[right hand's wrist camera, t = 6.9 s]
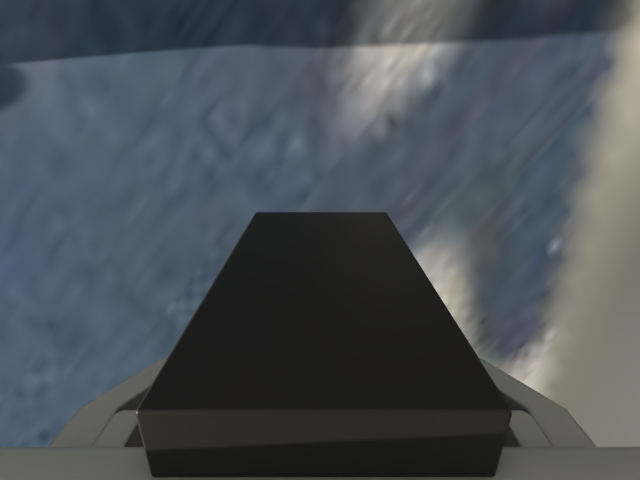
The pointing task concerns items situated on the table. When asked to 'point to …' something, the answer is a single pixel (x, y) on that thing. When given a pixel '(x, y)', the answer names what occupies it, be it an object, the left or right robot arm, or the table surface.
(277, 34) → the table surface
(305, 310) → the bar
